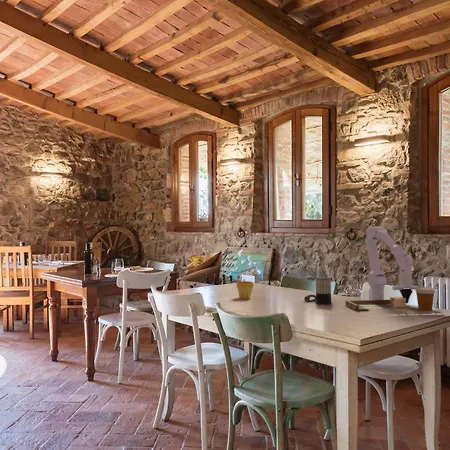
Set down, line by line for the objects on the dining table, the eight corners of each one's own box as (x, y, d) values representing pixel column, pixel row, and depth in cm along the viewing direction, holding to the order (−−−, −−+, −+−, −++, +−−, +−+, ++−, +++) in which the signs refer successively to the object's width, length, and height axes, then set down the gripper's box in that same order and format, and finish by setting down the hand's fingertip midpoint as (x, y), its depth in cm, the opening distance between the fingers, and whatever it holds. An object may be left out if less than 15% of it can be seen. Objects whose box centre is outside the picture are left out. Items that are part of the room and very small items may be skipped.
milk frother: (331, 305, 254) (331, 278, 254) (303, 304, 257) (303, 278, 257) (331, 301, 268) (331, 276, 268) (304, 300, 271) (304, 275, 271)
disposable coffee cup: (423, 313, 227) (423, 290, 227) (411, 310, 237) (411, 287, 237) (439, 312, 230) (439, 289, 230) (426, 309, 239) (426, 286, 239)
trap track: (345, 305, 251) (345, 300, 251) (401, 304, 253) (401, 299, 253) (356, 311, 235) (356, 305, 235) (414, 309, 238) (414, 304, 238)
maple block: (390, 304, 247) (389, 296, 247) (400, 304, 248) (400, 296, 248) (395, 306, 241) (394, 298, 241) (405, 306, 242) (405, 298, 242)
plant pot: (253, 296, 285) (253, 281, 285) (253, 299, 275) (252, 283, 275) (237, 296, 286) (237, 281, 286) (236, 299, 276) (236, 283, 276)
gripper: (396, 279, 240) (396, 304, 240) (422, 278, 242) (422, 304, 242) (390, 277, 247) (390, 302, 247) (415, 277, 249) (415, 301, 249)
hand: (406, 303), depth 245 cm, fingers closed
